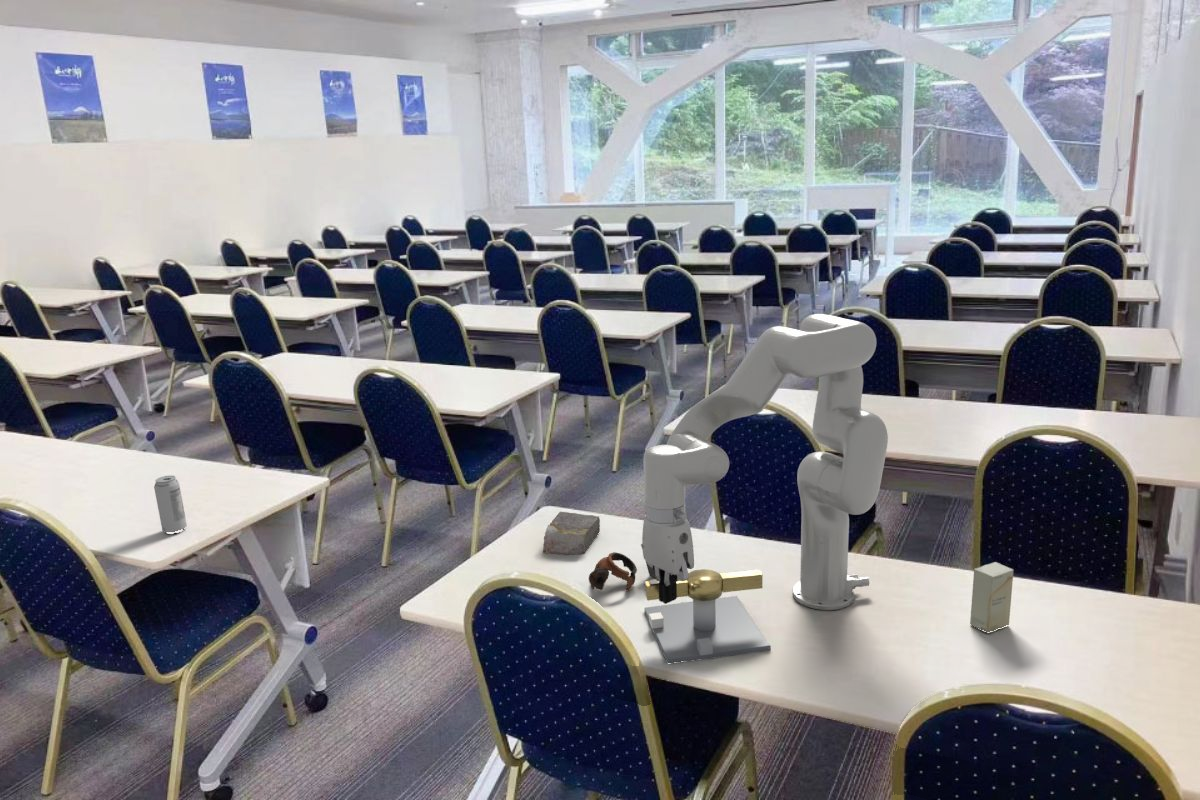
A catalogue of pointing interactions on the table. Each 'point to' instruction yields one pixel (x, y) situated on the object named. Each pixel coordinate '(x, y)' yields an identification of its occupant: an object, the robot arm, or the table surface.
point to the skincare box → (991, 596)
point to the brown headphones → (605, 564)
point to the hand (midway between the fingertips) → (668, 600)
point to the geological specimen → (570, 533)
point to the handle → (709, 584)
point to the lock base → (721, 636)
